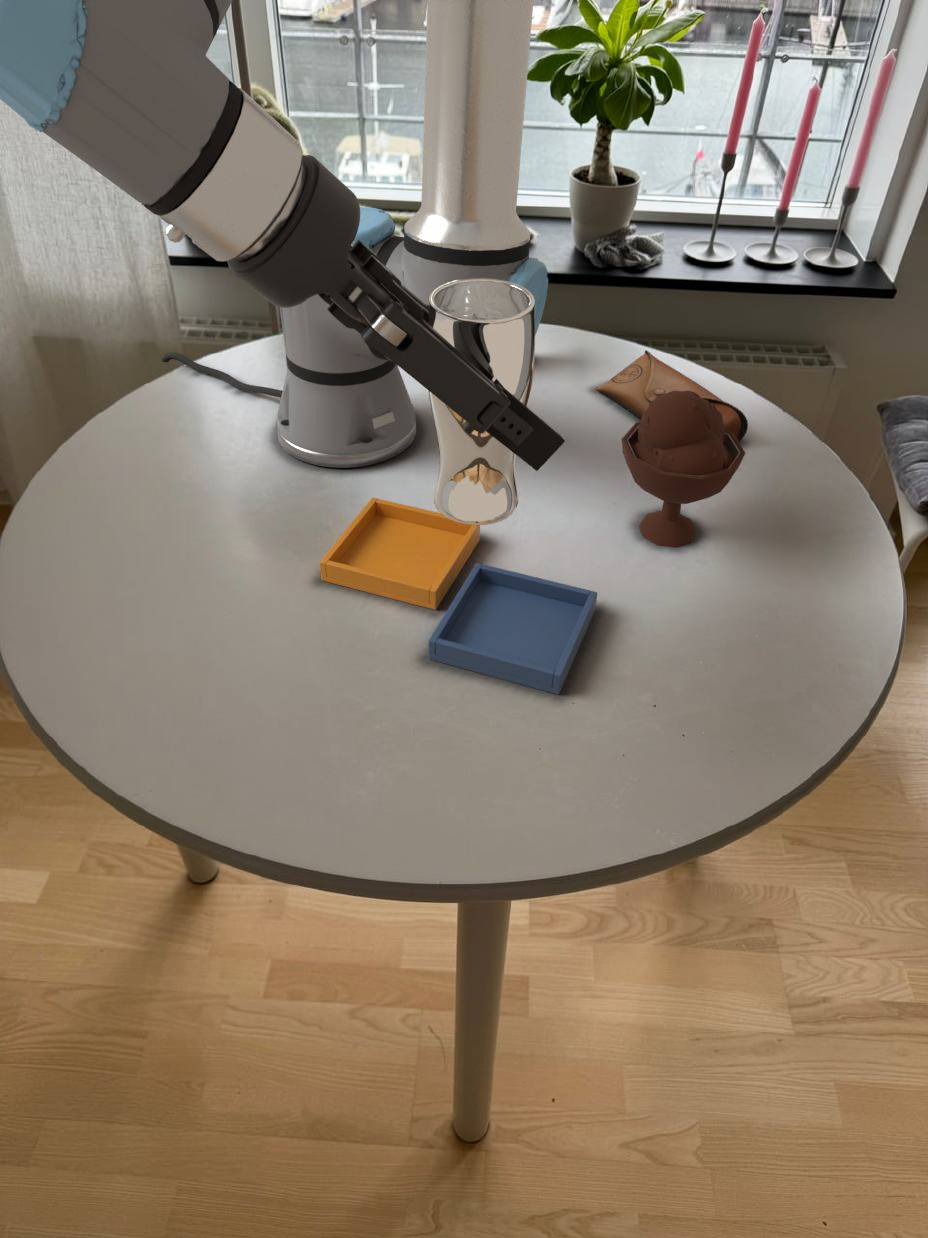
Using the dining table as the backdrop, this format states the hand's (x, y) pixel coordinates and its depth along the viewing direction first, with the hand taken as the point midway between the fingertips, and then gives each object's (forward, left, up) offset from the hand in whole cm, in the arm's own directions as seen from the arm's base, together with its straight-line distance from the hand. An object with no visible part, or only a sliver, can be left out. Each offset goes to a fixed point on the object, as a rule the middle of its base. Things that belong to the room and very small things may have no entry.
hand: (525, 425), depth 67 cm
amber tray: (-13, +8, -21) cm, 26 cm away
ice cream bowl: (+9, +22, -22) cm, 32 cm away
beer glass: (-3, -2, -6) cm, 7 cm away
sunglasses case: (+4, +45, -22) cm, 50 cm away
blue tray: (0, +2, -21) cm, 21 cm away
